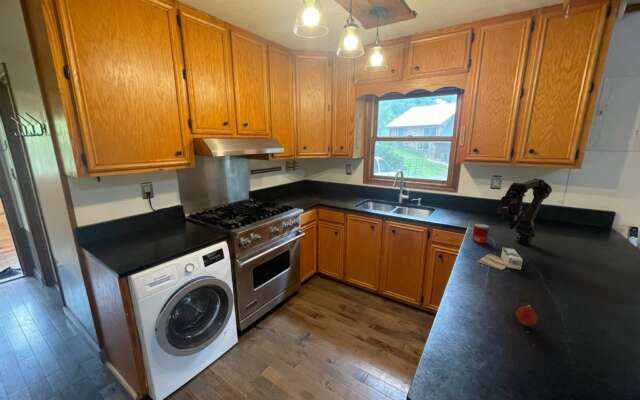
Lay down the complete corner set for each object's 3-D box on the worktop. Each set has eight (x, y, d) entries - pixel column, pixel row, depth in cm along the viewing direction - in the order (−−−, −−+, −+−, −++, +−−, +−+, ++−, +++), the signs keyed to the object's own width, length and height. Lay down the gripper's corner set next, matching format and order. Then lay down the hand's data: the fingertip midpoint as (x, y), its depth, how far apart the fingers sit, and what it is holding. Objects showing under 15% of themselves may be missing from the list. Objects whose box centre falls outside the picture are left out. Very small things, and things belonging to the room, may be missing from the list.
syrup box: (514, 248, 143) (523, 259, 130) (512, 258, 144) (521, 270, 131) (502, 247, 145) (509, 257, 132) (500, 257, 146) (507, 267, 133)
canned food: (488, 244, 165) (491, 227, 163) (474, 243, 167) (477, 226, 164) (483, 239, 172) (486, 224, 170) (470, 238, 174) (472, 223, 171)
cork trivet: (488, 254, 150) (489, 253, 150) (513, 262, 140) (513, 261, 140) (476, 261, 140) (476, 261, 140) (501, 270, 131) (501, 269, 131)
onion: (510, 319, 95) (514, 300, 93) (525, 319, 95) (529, 299, 93) (523, 331, 89) (528, 310, 87) (539, 330, 90) (544, 310, 88)
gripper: (506, 199, 166) (502, 222, 169) (494, 203, 155) (490, 228, 159) (527, 202, 157) (522, 227, 161) (516, 207, 146) (511, 233, 150)
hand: (511, 228), depth 158 cm, fingers closed
